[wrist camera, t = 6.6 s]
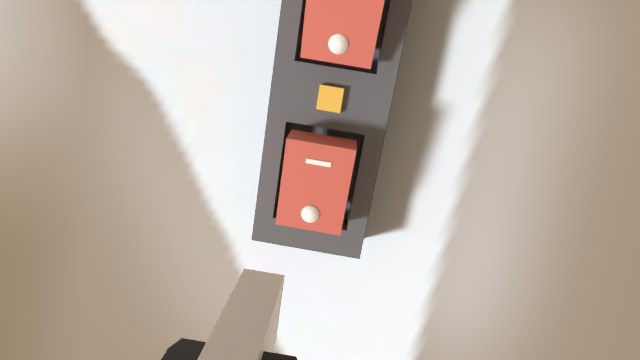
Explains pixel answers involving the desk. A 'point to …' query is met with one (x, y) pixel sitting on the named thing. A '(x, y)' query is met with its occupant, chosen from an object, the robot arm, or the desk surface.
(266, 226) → the power strip
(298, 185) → the rocker
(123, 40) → the desk surface
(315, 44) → the rocker
